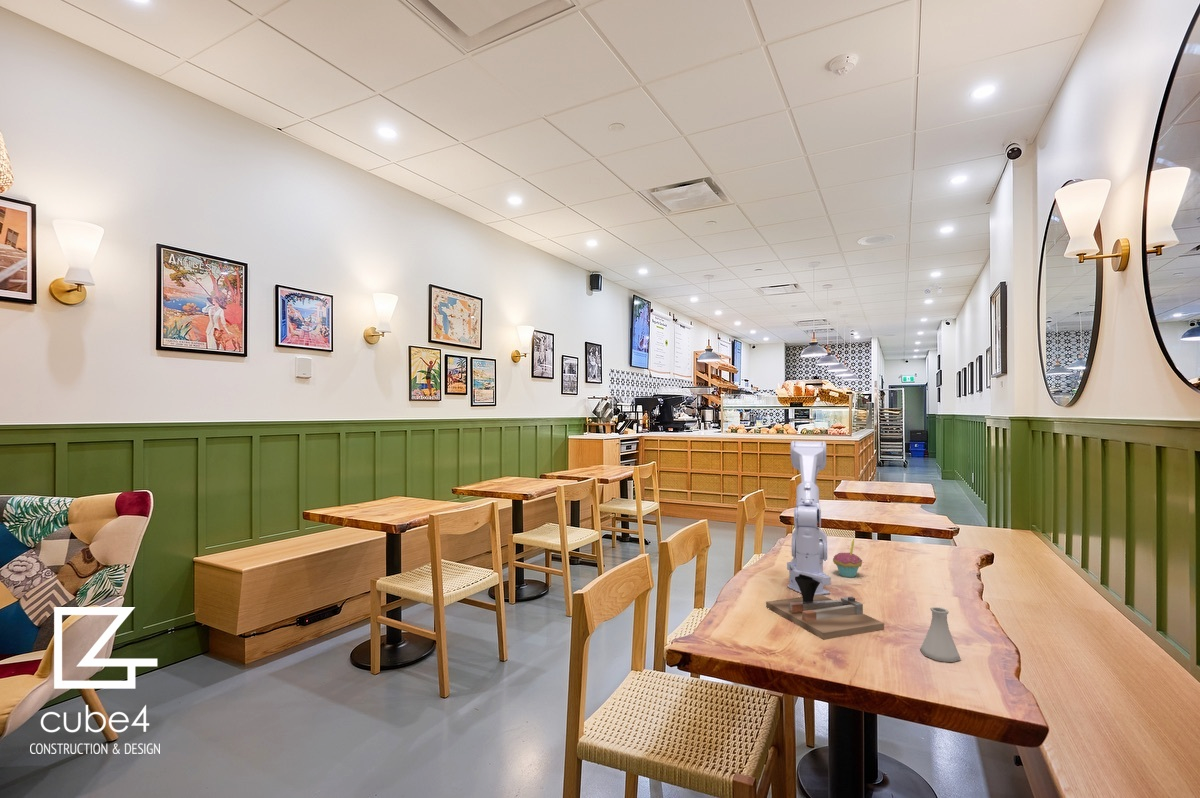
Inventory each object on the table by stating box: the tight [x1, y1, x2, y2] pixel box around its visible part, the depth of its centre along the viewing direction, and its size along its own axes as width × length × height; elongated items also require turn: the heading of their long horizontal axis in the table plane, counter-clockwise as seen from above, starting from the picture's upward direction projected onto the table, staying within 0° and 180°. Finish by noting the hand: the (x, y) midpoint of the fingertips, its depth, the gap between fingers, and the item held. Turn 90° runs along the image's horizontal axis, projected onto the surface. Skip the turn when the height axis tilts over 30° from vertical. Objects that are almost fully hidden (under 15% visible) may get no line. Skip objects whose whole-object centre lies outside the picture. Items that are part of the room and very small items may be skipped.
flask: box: [919, 606, 962, 663], centre depth 120 cm, size 7×7×10 cm
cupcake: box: [832, 538, 863, 578], centre depth 178 cm, size 9×8×12 cm
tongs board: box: [765, 594, 885, 640], centre depth 142 cm, size 22×18×5 cm
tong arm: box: [789, 599, 842, 613], centre depth 142 cm, size 14×2×2 cm, turn 99°
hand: (808, 604), depth 144 cm, fingers closed
